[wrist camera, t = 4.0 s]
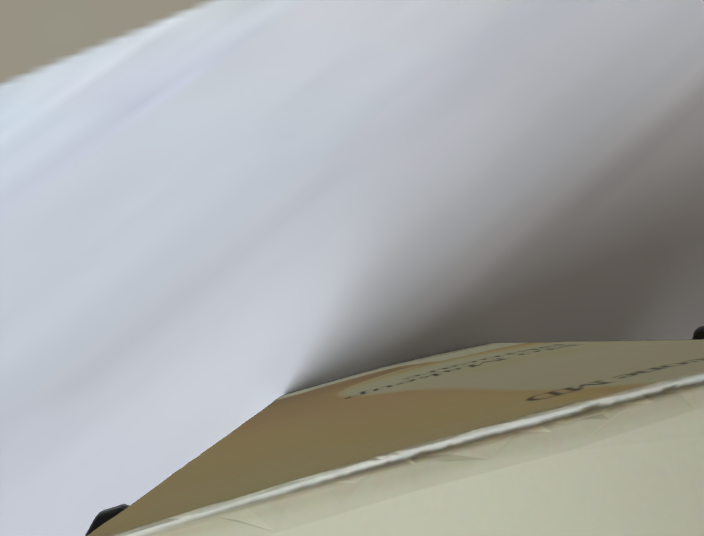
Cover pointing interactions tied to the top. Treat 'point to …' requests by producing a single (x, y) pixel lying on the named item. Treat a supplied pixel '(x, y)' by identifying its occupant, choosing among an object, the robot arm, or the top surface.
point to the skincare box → (460, 451)
